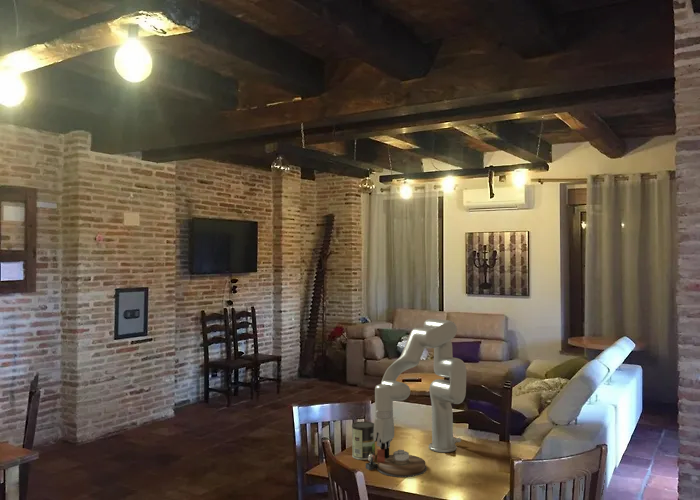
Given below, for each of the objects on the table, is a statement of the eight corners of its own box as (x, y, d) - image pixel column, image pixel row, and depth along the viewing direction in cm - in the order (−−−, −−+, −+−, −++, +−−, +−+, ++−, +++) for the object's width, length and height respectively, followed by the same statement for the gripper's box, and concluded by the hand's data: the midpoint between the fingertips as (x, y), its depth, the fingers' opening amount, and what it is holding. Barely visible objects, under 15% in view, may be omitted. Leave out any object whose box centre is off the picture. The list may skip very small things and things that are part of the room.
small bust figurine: (373, 466, 246) (373, 452, 246) (377, 468, 243) (377, 454, 244) (365, 468, 244) (365, 454, 244) (369, 470, 241) (369, 456, 242)
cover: (393, 460, 246) (392, 448, 246) (408, 460, 246) (408, 448, 246) (393, 465, 240) (393, 453, 240) (409, 465, 240) (409, 453, 240)
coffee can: (376, 453, 263) (376, 421, 264) (373, 460, 253) (373, 428, 253) (354, 451, 265) (354, 420, 266) (350, 459, 255) (349, 426, 256)
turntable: (377, 458, 254) (377, 442, 254) (423, 459, 253) (423, 442, 254) (377, 475, 234) (377, 457, 234) (427, 475, 233) (427, 458, 234)
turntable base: (407, 456, 258) (407, 455, 258) (436, 471, 240) (436, 470, 240) (367, 464, 248) (367, 463, 248) (394, 480, 230) (394, 479, 230)
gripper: (386, 408, 256) (387, 450, 256) (367, 416, 244) (368, 460, 244) (400, 411, 252) (401, 453, 252) (382, 419, 240) (383, 464, 239)
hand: (385, 457), depth 248 cm, fingers closed
